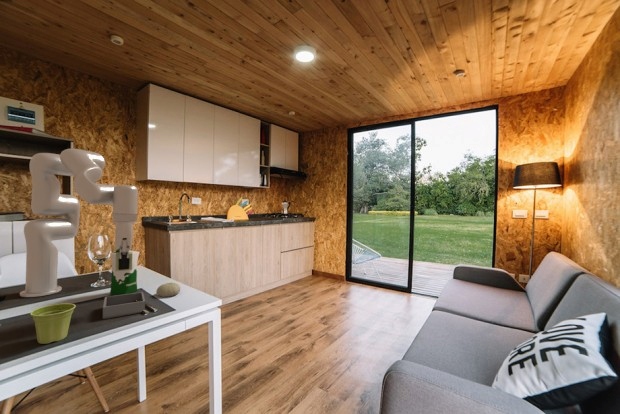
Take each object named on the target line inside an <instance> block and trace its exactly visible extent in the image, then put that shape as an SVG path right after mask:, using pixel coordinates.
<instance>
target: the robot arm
mask: <svg viewBox="0 0 620 414" xmlns="http://www.w3.org/2000/svg"><path fill="white" fill-rule="evenodd" d="M30 158H31V159H30V161H29V173H30V175H31V179H32V180H31V181H32V189H31V205H30V207H31V212H32V213H33V214H34V215H36V216H43V217H45V216H47V217H49V216H50V217H51V216H54V217H58V216H59V217H60V216H61V218H37V219H33V220H29V221H27V222H26V223H25V224H24V226H23V234H24V239H25V246H26V257H25V259H26V261H25V263H26V264H25V289H24V290H22V291H20V292H19V296H20V297H22V298H36V297H43V296H48V295H53V294H57V293H59V292H61V291H62V286H60V285H58V259H59V256H58V255H59V250H58V248H57V247H56V245H55V244H54V243H53V242H52V241H59V240H60V241H62V240H71V239H73V238H75V237H76V236H77V235H78V233H79V228H80V219H81V217H80V216H81V203H80V201H79V198H78V197H76V196H75V195H72V194H61V188H62V187H61V186H62V185H61V181H60V180H59V179H58V178H57V176H56V175H59V176H68V177H74V179H73V189H74V191H75V193H76V194H77V196H79V197H80V198H81V199H82V201H84V202H85V203H87V204H91V205H105V206H106V205H109V206H110V205H111V206H112V223H113V224H115V230H114V231H115V232H114V251H115V252H116V251H117V249H119V248H120V259H119V267H118V269H119V270H125V269H129V259H130V258H129V251H131V250H132V246H133V237H134V236H133V235H134V223H135V224H137V223H138V208H139V207H138V202H139V200H138V198H139V189H138V188H137V187H136V186H135V185H127V184H125V185H124V184H119V185H118V184H117V185H116V184H103V183H97V182H98V181H100V179H102V177H103V170H104V169H105V167H106V160H105V158H104V157H103V156H102V154H100V153H98V152H94V151H90V150H84V149H81V148H79V149H78V148H67V149H64V150H62V151H61V153H60V154H56V153H53V152H52V153H50V152H38V153H36V154H34V155H32V157H30Z"/></svg>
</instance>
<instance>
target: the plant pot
mask: <svg viewBox="0 0 620 414" xmlns="http://www.w3.org/2000/svg"><path fill="white" fill-rule="evenodd" d="M76 307H77V306H76V304H74V303H70V302H69V303H67V302H66V303H57V304H50V305H45V306H41V307H39V308H36V309H34V310H32V311H31V312H30V316H31V317H32V320H33V321H34V327H35V334H36V340H37V343H38V344H41V345H42V344H43V345H44V344H51V343H53V342H59V341H62V340H64V339H65V338H66V337H68V332H69V328H70V323H71V318H72V314H73V313H74V309H76Z"/></svg>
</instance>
